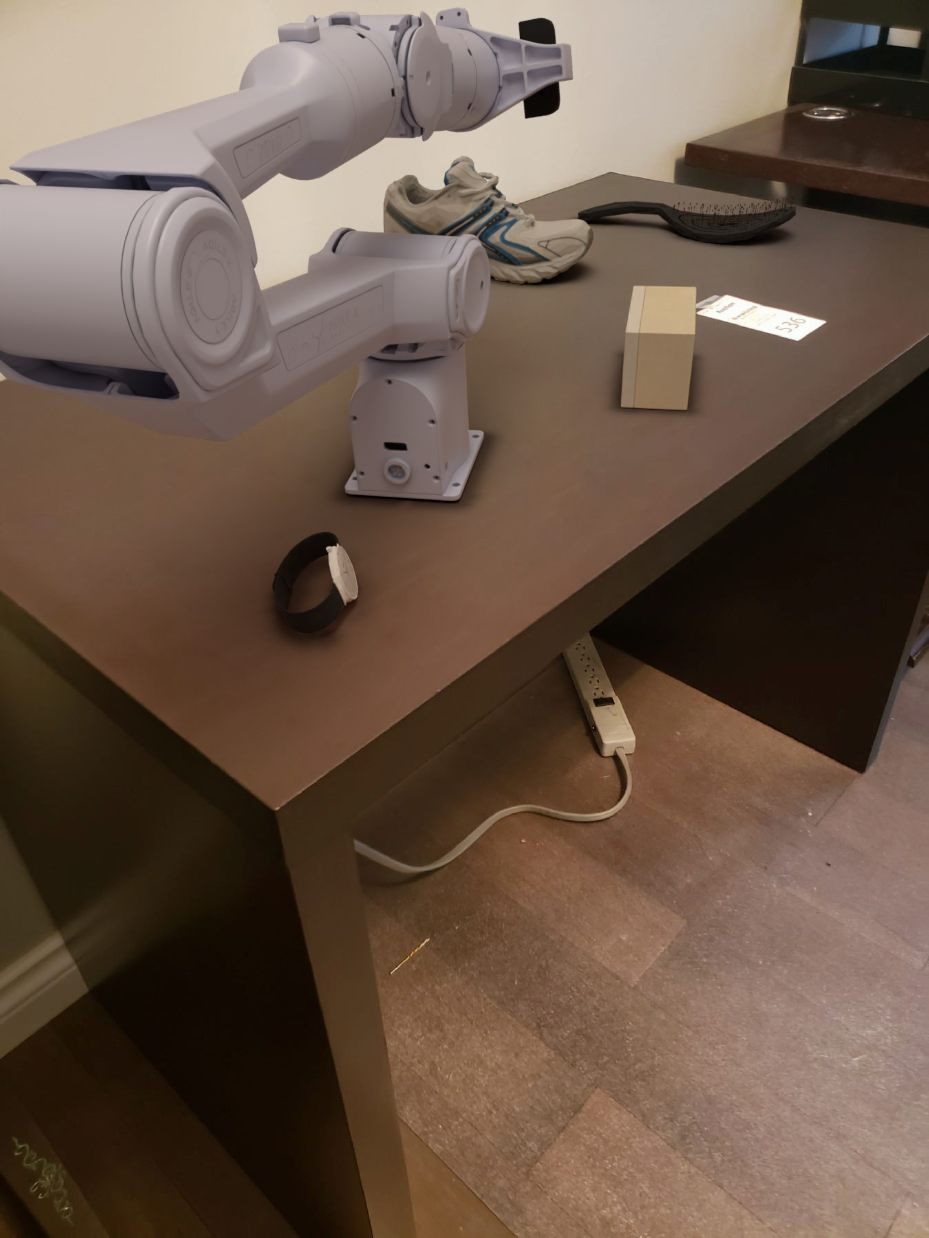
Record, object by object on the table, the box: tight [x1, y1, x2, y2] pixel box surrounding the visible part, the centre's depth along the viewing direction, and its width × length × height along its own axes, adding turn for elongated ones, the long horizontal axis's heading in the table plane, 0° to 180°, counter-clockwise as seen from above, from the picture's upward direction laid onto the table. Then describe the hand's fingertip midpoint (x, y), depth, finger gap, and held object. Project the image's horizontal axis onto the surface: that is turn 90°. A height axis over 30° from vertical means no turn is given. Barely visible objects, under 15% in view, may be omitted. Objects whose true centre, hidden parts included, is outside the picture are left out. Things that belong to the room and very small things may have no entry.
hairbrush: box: [577, 195, 797, 244], centre depth 106 cm, size 8×4×25 cm
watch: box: [271, 531, 359, 635], centre depth 53 cm, size 8×5×4 cm, turn 3°
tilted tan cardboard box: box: [620, 285, 697, 411], centre depth 73 cm, size 10×5×6 cm, turn 169°
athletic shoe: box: [382, 155, 595, 285], centre depth 97 cm, size 10×23×12 cm, turn 78°
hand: (500, 81), depth 69 cm, fingers open, 7 cm apart
